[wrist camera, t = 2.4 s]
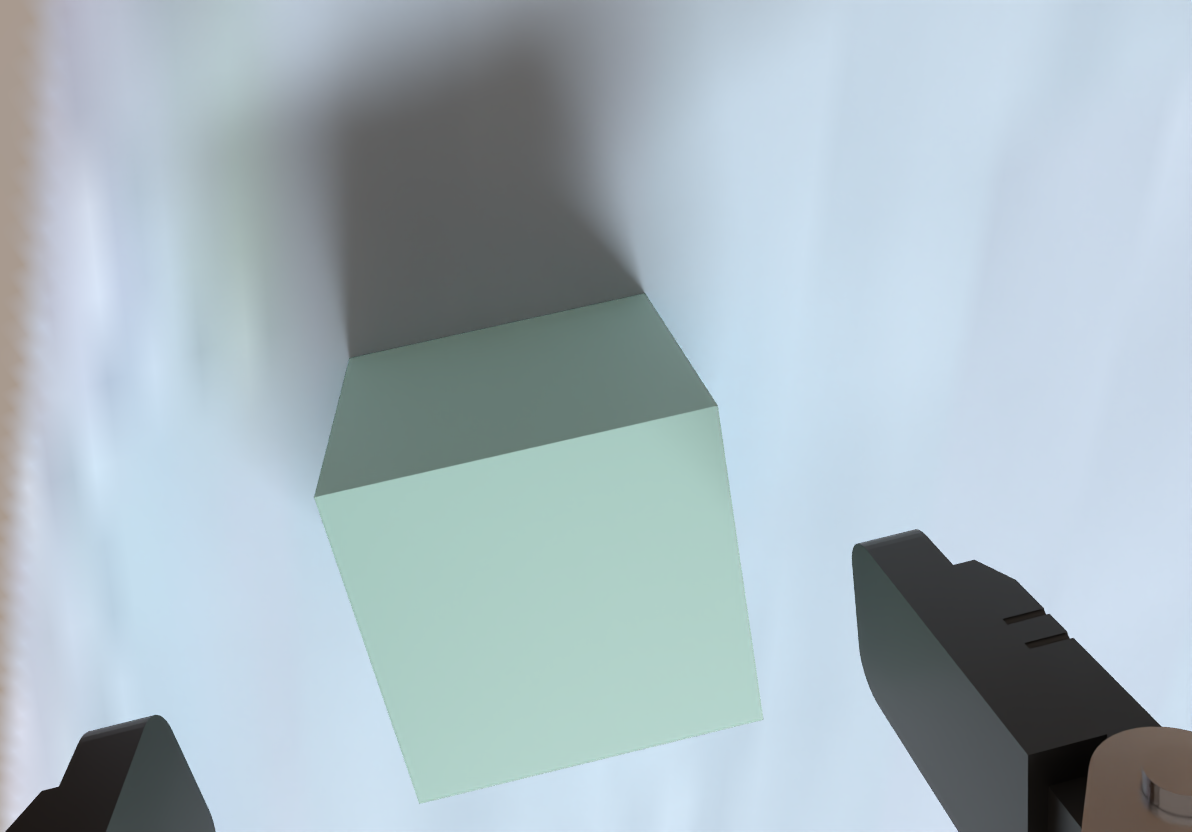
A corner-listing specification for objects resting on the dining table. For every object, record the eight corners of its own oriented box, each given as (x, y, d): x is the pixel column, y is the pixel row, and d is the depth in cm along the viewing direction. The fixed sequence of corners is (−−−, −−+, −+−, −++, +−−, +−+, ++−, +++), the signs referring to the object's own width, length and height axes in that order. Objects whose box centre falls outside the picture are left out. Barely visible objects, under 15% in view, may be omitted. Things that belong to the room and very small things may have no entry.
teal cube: (643, 292, 17) (717, 405, 12) (686, 543, 19) (763, 719, 14) (349, 356, 17) (314, 496, 12) (425, 603, 19) (419, 803, 14)
